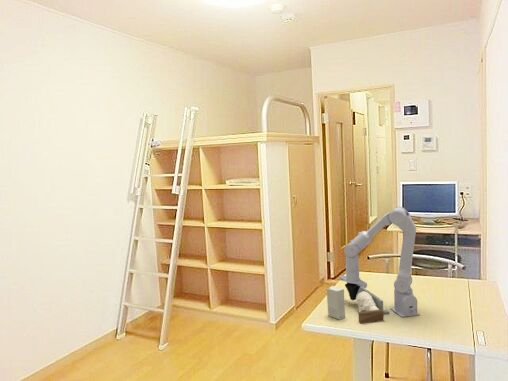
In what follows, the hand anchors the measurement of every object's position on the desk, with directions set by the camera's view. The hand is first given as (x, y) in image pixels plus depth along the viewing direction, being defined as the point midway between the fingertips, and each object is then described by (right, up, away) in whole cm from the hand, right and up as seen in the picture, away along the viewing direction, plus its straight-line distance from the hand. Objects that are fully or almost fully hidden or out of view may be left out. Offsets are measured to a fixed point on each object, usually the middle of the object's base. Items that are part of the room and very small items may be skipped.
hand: (353, 299), depth 178 cm
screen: (+8, -2, -1) cm, 8 cm away
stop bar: (+3, -4, -18) cm, 18 cm away
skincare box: (-10, -4, -12) cm, 16 cm away
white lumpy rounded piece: (+4, -3, -11) cm, 12 cm away
